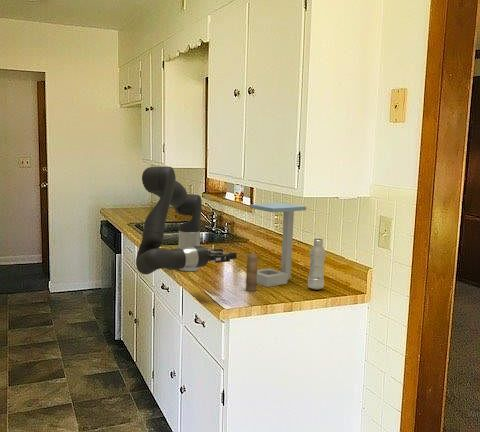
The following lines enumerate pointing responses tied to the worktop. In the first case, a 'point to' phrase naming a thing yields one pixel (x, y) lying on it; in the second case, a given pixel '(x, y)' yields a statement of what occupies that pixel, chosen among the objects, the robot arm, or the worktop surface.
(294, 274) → the worktop surface
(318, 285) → the plastic bottle
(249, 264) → the peg
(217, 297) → the worktop surface
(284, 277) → the socket stand
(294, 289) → the worktop surface
